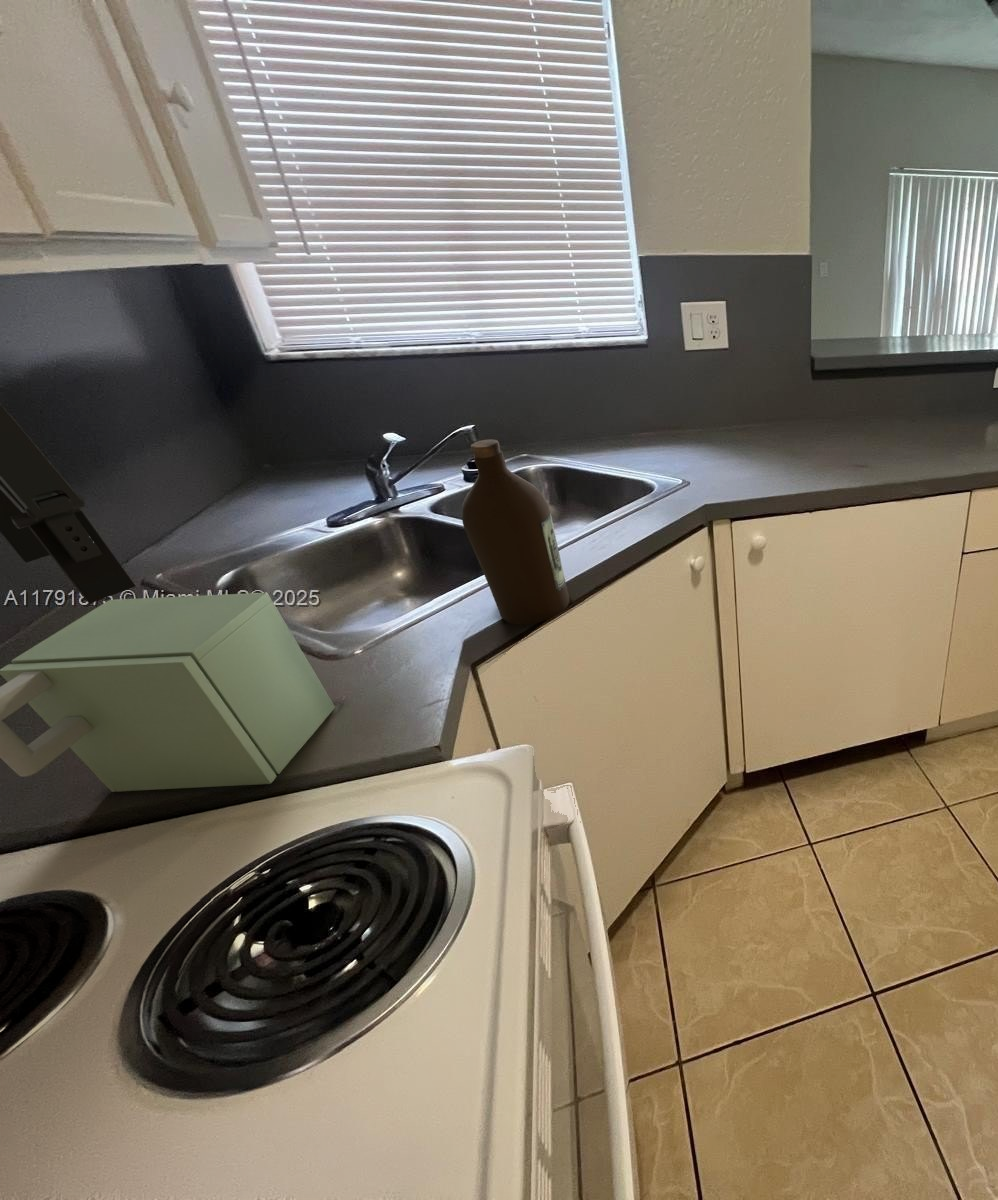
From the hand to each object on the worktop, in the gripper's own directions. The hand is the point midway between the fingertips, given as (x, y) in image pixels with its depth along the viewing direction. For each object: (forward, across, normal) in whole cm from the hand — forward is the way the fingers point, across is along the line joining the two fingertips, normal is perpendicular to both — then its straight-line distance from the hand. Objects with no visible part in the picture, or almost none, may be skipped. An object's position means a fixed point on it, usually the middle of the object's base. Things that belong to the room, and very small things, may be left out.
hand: (77, 573), depth 50 cm
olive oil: (+26, -2, -37) cm, 45 cm away
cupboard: (+26, +7, -3) cm, 27 cm away
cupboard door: (+26, +2, +5) cm, 26 cm away
